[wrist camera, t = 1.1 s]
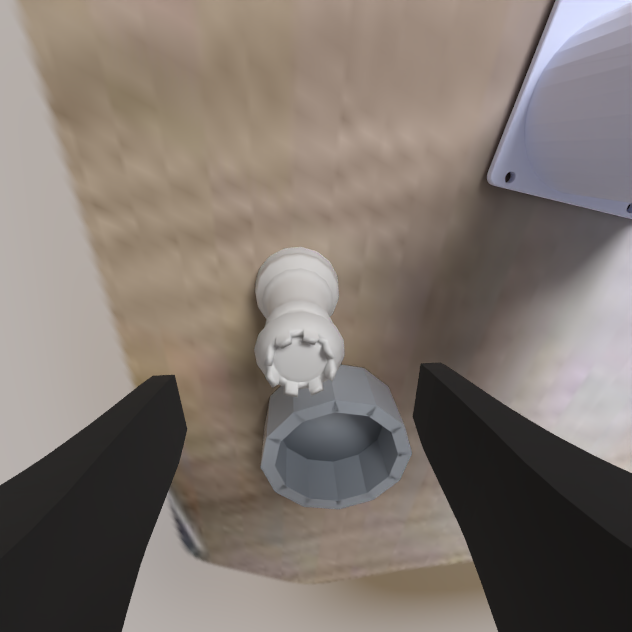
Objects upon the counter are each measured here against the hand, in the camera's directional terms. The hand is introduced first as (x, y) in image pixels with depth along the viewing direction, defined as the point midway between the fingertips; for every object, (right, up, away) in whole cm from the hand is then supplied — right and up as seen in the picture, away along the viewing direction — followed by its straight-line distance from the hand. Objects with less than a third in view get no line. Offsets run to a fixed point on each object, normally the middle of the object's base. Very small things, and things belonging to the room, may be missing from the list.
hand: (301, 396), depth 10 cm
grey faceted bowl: (+1, -4, +13) cm, 14 cm away
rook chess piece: (-1, +4, +9) cm, 10 cm away
